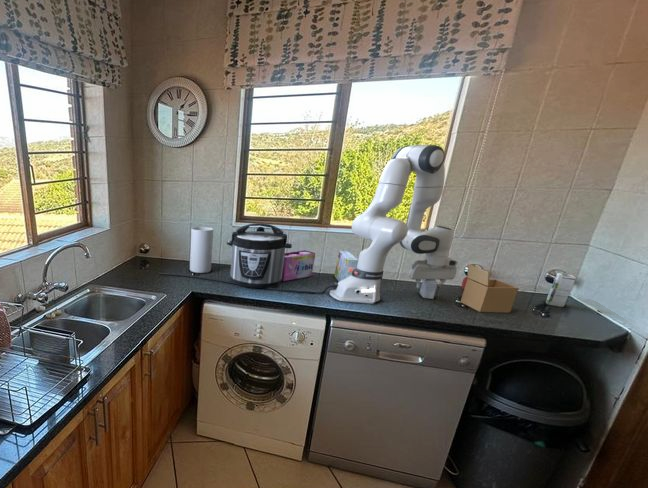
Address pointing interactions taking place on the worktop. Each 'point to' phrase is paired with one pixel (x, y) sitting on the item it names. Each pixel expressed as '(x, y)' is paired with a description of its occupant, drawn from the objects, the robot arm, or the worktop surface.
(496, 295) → the open cardboard box
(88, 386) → the worktop surface
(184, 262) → the worktop surface
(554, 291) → the syrup box
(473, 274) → the flap
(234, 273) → the pressure cooker
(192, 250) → the cylinder vase
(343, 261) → the snack box
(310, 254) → the gum box
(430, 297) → the medicine box
